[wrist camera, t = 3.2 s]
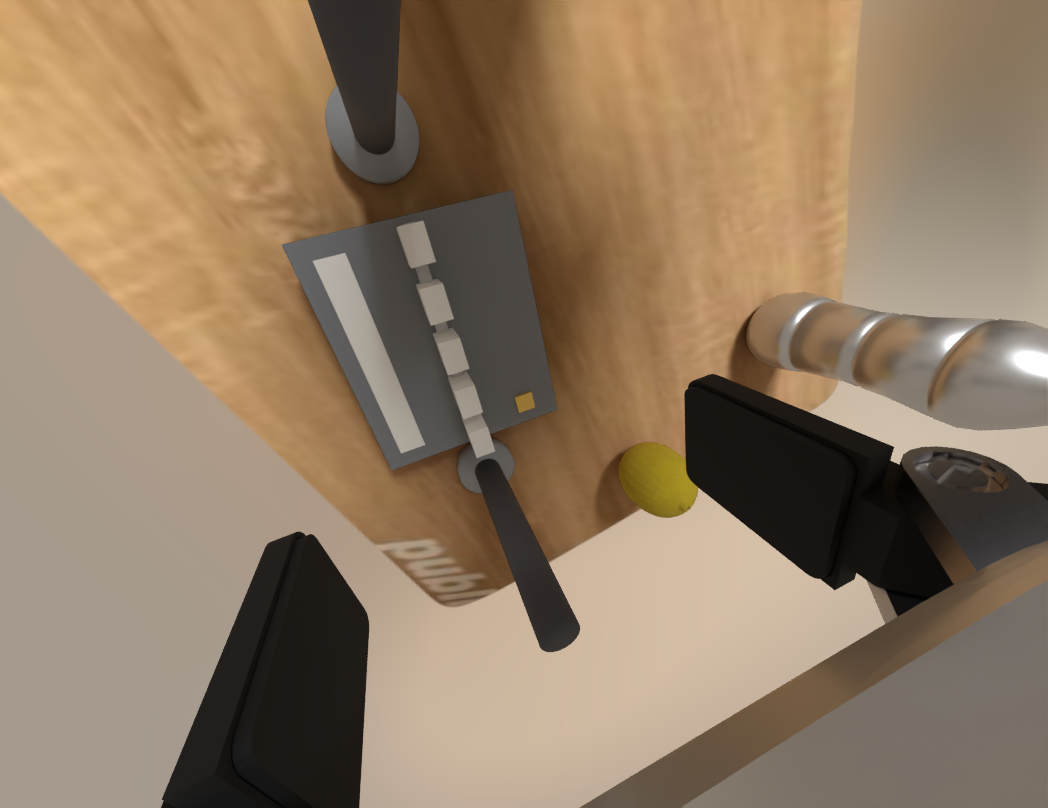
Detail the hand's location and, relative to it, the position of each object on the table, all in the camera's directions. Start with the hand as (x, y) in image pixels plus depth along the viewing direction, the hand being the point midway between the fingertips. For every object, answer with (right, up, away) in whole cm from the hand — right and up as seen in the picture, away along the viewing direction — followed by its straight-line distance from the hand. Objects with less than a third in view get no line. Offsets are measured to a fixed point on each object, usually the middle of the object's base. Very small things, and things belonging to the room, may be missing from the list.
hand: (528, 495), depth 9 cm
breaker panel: (-6, +7, +16) cm, 18 cm away
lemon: (+10, -2, +26) cm, 28 cm away
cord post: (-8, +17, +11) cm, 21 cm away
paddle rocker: (-5, +6, +13) cm, 15 cm away
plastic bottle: (+22, +9, +25) cm, 34 cm away
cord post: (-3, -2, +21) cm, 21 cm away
